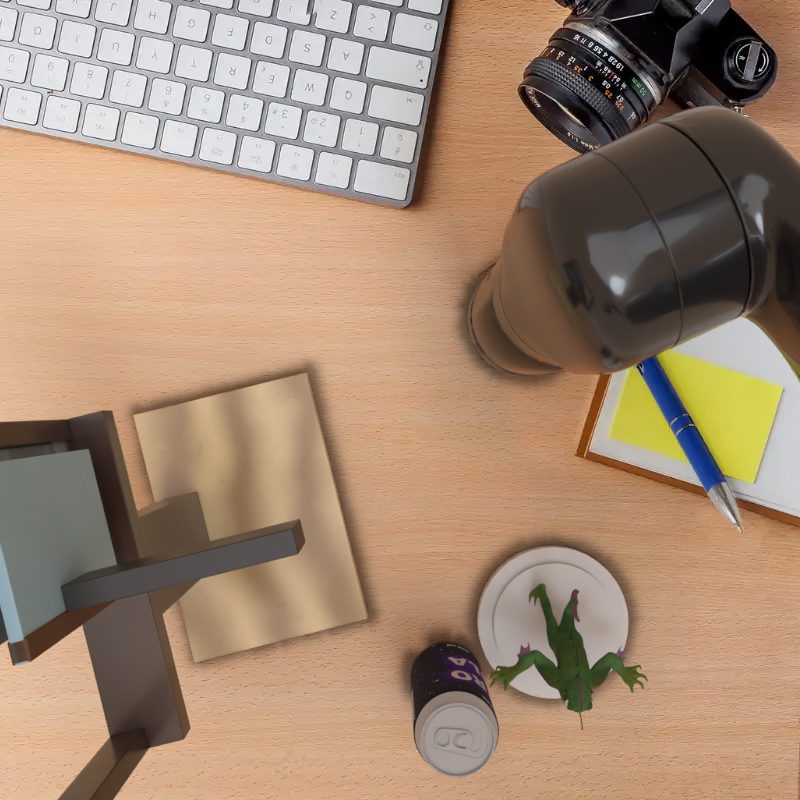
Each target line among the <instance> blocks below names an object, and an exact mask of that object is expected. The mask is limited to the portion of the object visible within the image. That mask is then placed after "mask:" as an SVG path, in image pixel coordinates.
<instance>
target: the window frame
mask: <svg viewBox="0 0 800 800" xmlns="http://www.w3.org/2000/svg"><path fill="white" fill-rule="evenodd" d="M84 449H89V453H90V457H91V461H92V465H93V469H94V473H95V477H96V481H97V485H98V489H99V493H100V497H101V501H102V505H103V509H104V513H105V517H106V522H107V526H108V530H109V534H110V538H111V542H112V546H113V550H114V554H115V558H116V562H117V564H121V563H125V562H129V561H133V560H137V559H141V558H145V557H149V556H153V555H157V554H161V553H165V552H169V551H173V550H177V549H181V548H185V547H189V546H193V545H197V544H201V543H205V542H209V541H210V539H209V535H208V531H207V527H206V523H205V519H204V515H203V511H202V507H201V503H200V499H199V495H198V492H197V491H196V492H192V493H188V494H184V495H180V496H176V497H172V498H168V499H164V500H160V501H158V502H156V503H155V502H153V503H151V504H149V505H146V506H144V507H141V508H139V509H137V505H136V502H135V497H134V492H133V488H132V485H131V481H130V478H129V472H128V469H127V464H126V460H125V456H124V452H123V449H122V445H121V440H120V436H119V433H118V428H117V425H116V420H115V416H114V412H113V410H112V409H105V410H103V409H101V410H98V411H93V412H89V413H86V414H82V415H78V416H73V417H69V418H64V419H63V418H62V419H58V418H57V419H38V420H37V419H36V420H34V419H33V420H14V421H13V420H12V421H11V420H10V421H0V462H1V461H8V460H15V459H22V458H28V457H35V456H42V455H49V454H56V453H63V452H70V451H77V450H84ZM199 580H200V579H198V580H194V581H190V582H186V583H182V584H178V585H174V586H170V587H166V588H162V589H158V590H155V591H151V592H147V593H143V594H139V595H135V596H131V597H127V598H123V599H119V600H116V601H115V602H113V603H112V604H111V605H109V606H108V607H106V608H105V609H104V610H102V611H101V612H99V613H98V614H97V615H95V616H94V617H93V618H91V619H90V620H88V621H87V622H86V623H84V624H83V625H81V626H82V630H83V634H84V638H85V642H86V646H87V650H88V654H89V658H90V661H91V665H92V669H93V674H94V678H95V682H96V687H97V690H98V694H99V698H100V703H101V706H102V710H103V714H104V719H105V723H106V727H107V732H108V735H109V737H108V738H107V740H106V741H105V742H104V743H103V744H102V746H100V748H99V749H98V750H97V751H96V753H95V754H94V755H93V756H92V758H91V759H90V760H89V761H88V763H86V765H85V766H84V767H83V768H82V770H81V771H80V772H79V773H78V775H77V776H75V778H74V779H73V780H72V782H71V783H70V784H69V785H68V786H67V787H66V789H64V791H63V792H62V793H61V795H60V796H59V797H58V798H57V799H56V800H115V798H116V797H117V795H118V794H119V792H121V790H122V788H123V787H124V786H125V784H126V782H127V781H128V780H129V778H130V777H131V776H132V774H133V772H134V771H135V769H136V768H137V767H138V765H139V764H140V762H141V761H142V759H143V758H144V757H145V755H146V754H147V752H149V750H150V749H152V748H157V747H160V746H165V745H168V744H172V743H176V742H180V741H184V740H185V739H186V738H187V735H188V734H189V732H190V730H191V729H192V727H191V724H190V721H189V720H190V719H189V715H188V711H187V707H186V703H185V700H184V695H183V690H182V687H181V684H180V679H179V676H178V671H177V667H176V663H175V659H174V654H173V651H172V647H171V642H170V639H169V635H168V634H169V633H168V630H167V625H166V622H165V618H164V614H165V613H166V612H167V611H168V610H169V609H170V608H171V607H173V606H174V605H175V604H176V603H177V602H179V599H180V598H181V597H182V596H183V595H184V594H185V593H186V592H187V591H188V590H190V589H191V588H192V587H193V586H194V585H195V584H196V583H197V582H198V581H199ZM6 642H9V639H8V635H7V631H6V627H5V623H4V619H3V615H2V611H1V607H0V646H1V645H3V644H5V643H6Z"/></svg>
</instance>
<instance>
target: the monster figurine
mask: <svg viewBox="0 0 800 800" xmlns="http://www.w3.org/2000/svg"><path fill="white" fill-rule="evenodd" d="M476 627H477V628H476V629H477V635H478V639H479V644H480V646H481V648H482V651H483V653H484V656H485V658H486V660H487V662H488V663H489V665H490V666H491V668H492V670H494V671H492V672H491V674H490V676H489V680H491V679H492V681H491V683H490V684H489V688H491V687H493V686H494V685H495V683H496V682H501V683H502V684H503V685H504V687H503V691H504V692H507V690H508V688H509V686H511V687H512V688H514V689H516V690H517V691H519V692H521V693H524V694H525V695H528V696H532V697H536V698H540V699H549V700H550V699H553V700H555V699H561V700H562V702H563V703H564V706H565V708H566V709H567V710H568V711H571V712H572V711H573V712H574V713H577V714H579V719H580V726H581V729H580V730H581V731H584V724H583V718H582V713H583V712H587V711H591V710H592V709H593V706H594V702H593V701H594V700H593V698H592V694H594V690H593V689H596V688H599V687H600V686H602V684H603V683H604V682H605V681H606V679H607V677H608V676H609V674H610V673H611V672H612V671H614V672H615V673H616V674H617V675H618V676H619V677H620V678H621V680H622V681H623V682H624V684H626V685H627V686H628V687H629V690H630V692H631V693H634V691H635V690H634V687H635V685H636V684H637V685H639V686H640V687H641V689H642V690H645V685H644V682H642V681H641V680H639V678H642V679H644V680H645V681H646V682H649V679H648V677H647V675H645V674H644V673H640V672H638V669H640V670H642V665H641V664H636V665H633V666H631V665H630V666H625V664H624V660H625V659H626V657H625V653H626V649H625V647H626V644H627V639H628V634H629V610H628V607H627V603H626V599H625V596H624V594H623V591H622V589H621V587H620V585H619V584H618V582H617V580H616V579H615V578H614V576H613V575H612V573H611V572H610V571H609V570H608V569H607V568H606V567H605V566H604V565H603V564H601V563H600V562H599V561H598V560H597V559H595V558H593V557H591V556H590V555H589V554H587V553H585V552H583V551H581V550H578V549H576V548H573V547H567V546H564V545H552V544H551V545H539V546H535V547H531V548H527V549H525V550H523V551H520V552H518V553H516V554H514V555H513V556H511V557H509V558H507V559H506V560H505V561H504V562H503V563H502V564H501V565H499V566H498V568H496V570H494V572H493V573H492V574H491V575H490V577H489V579H488V580H487V582H486V584H485V585H484V587H483V590H482V592H481V595H480V597H479V601H478V606H477V612H476ZM495 675H498V677H497V676H496V677H494V676H495ZM493 677H494V678H493Z"/></svg>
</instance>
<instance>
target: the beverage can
mask: <svg viewBox="0 0 800 800" xmlns="http://www.w3.org/2000/svg"><path fill="white" fill-rule="evenodd" d="M409 680H410V682H409V683H410V697H411V698H410V699H411V714H412V716H411V717H412V732H413V741H414V744H415V748H416V749H417V752H418V753H419V756H420V757H421V758H422V759H423V760H424V762H425V763H426V764H427V765H429V766H430V768H432V769H433V770H434V771H435V772H437V773H439V774H440V775H442V776H445V777H449V778H455V779H461V778H467V777H471V776H473V775H475V774H477V773H478V772H480V771H481V770H483V769H484V768H485V767H486V766H487V764H489V762H490V761H491V759H492V757H493V754H494V752H495V750H496V749H497V745H498V742H499V736H500V726H499V721H498V718H497V714H496V712H495V708H494V705H493V702H492V698H491V695H490V692H489V689H488V686H487V683H486V680H485V677H484V673H483V670H482V668H481V665H480V662H479V660H478V658H477V657H476V656H475V654H474V653H473V652H472V651H471V650H469V649H468V648H467V647H466V646H465V645H462V644H460V643H456V642H452V641H441V642H436V643H434V644H431V645H429V646H427V647H426V648H424V649H423V650H422V651H421V652H419V654H418V655H417V657H416V658H415V659H414V661H413V663H412V666H411V669H410V676H409Z"/></svg>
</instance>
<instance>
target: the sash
mask: <svg viewBox="0 0 800 800" xmlns="http://www.w3.org/2000/svg"><path fill="white" fill-rule="evenodd" d="M305 542H306V541H305V537H304V533H303V529H302V525H301V521H300V519H297V520H293V521H289V522H285V523H281V524H277V525H273V526H269V527H265V528H261V529H257V530H253V531H249V532H245V533H241V534H237V535H233V536H229V537H225V538H221V539H217V540H213V541H209V542H205V543H201V544H197V545H193V546H189V547H185V548H181V549H177V550H173V551H169V552H165V553H161V554H157V555H153V556H149V557H145V558H141V559H137V560H133V561H129V562H125V563H121V564H117V562H116V558H115V554H114V550H113V546H112V542H111V538H110V534H109V530H108V526H107V522H106V517H105V513H104V509H103V505H102V501H101V497H100V493H99V489H98V485H97V481H96V477H95V473H94V469H93V465H92V461H91V457H90V453H89V449H84V450H77V451H70V452H63V453H56V454H49V455H42V456H35V457H28V458H22V459H15V460H8V461H1V462H0V607H1V611H2V615H3V619H4V623H5V627H6V631H7V635H8V639H9V640H8V641H7V648H8V652H9V657H10V660H11V664H12V666H15V667H17V666H20V665H25V664H28V663H31V662H33V661H34V660H36V659H37V658H38V657H39V656H41V655H43V654H44V653H45V652H47V651H48V650H49V649H51V648H52V647H53V646H55V645H56V644H58V643H59V642H61V641H62V640H64V639H65V638H66V637H68V636H69V635H70V634H72V633H73V632H74V631H76V630H77V629H78V628H80V627H81V626H82V625H83V624H84V623H86V622H87V621H88V620H90V619H91V618H93V617H94V616H95V615H97V614H98V613H99V612H101V611H102V610H104V609H105V608H106V607H108V606H109V605H111V604H112V603H113V602H115V601H116V600H119V599H123V598H127V597H131V596H135V595H139V594H143V593H147V592H151V591H155V590H158V589H162V588H166V587H170V586H174V585H178V584H182V583H186V582H190V581H194V580H198V579H202V578H206V577H210V576H214V575H218V574H222V573H226V572H230V571H234V570H238V569H242V568H246V567H250V566H254V565H258V564H262V563H266V562H270V561H274V560H278V559H282V558H286V557H290V556H294V555H298V554H299V552H300V551H301V549H302V547H303V546H304V544H305Z"/></svg>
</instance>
